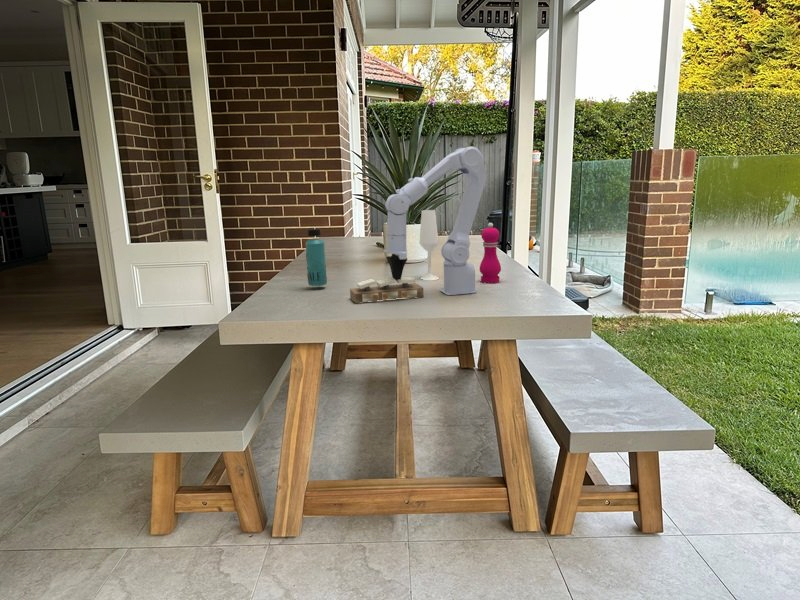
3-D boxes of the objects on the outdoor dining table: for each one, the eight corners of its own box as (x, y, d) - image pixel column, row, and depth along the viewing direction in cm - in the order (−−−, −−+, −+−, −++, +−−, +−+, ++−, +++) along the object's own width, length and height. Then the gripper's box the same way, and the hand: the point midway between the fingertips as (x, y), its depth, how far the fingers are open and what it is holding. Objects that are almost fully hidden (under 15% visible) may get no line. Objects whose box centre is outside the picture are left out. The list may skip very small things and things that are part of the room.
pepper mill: (479, 279, 191) (479, 221, 187) (500, 279, 190) (501, 221, 186) (479, 283, 184) (479, 223, 180) (501, 283, 183) (502, 223, 179)
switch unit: (415, 292, 174) (415, 279, 173) (424, 297, 166) (423, 284, 165) (350, 298, 169) (349, 284, 168) (355, 304, 161) (355, 290, 160)
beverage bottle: (325, 285, 189) (322, 227, 184) (329, 289, 183) (325, 229, 178) (306, 287, 187) (302, 228, 182) (309, 291, 181) (305, 230, 176)
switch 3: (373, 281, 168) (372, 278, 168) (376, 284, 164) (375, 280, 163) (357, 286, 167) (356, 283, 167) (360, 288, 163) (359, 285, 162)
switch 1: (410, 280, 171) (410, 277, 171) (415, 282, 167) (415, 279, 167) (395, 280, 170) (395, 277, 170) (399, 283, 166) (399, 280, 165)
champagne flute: (433, 280, 192) (432, 211, 186) (416, 279, 195) (415, 211, 190) (442, 277, 197) (441, 209, 192) (425, 276, 201) (424, 209, 195)
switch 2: (392, 279, 169) (391, 276, 169) (395, 282, 165) (395, 279, 165) (376, 284, 168) (376, 281, 168) (380, 287, 164) (379, 283, 164)
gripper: (378, 233, 170) (378, 276, 173) (390, 237, 157) (390, 284, 160) (400, 232, 172) (399, 275, 175) (413, 237, 159) (413, 283, 162)
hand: (396, 279), depth 168 cm, fingers closed, pressing on switch 1, switch 2
